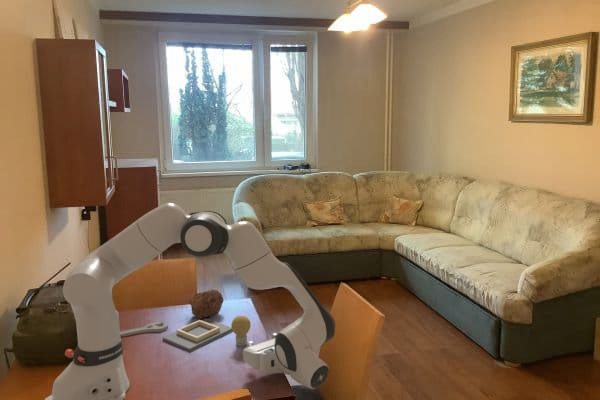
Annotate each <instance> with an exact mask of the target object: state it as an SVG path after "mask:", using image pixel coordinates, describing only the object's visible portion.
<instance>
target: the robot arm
mask: <svg viewBox="0 0 600 400" xmlns="http://www.w3.org/2000/svg"><path fill="white" fill-rule="evenodd" d="M178 242H180V243H181V246H182V247H183V249H184V251H185V252H187V253H188V254H190V255H192V256H194V257H198V258H199V257H200V258H202V257H210V256H213V255H221V254H223V253H224V254H225V255H226V256H227V258H228V259H229V260H230V263H231V265H232V266H233V268H234V270H235V272H236V274H237V276H238V277H239V279H240V281H241V282H242V283H243V284H244V285H245V286H246V287H247V288H250V289H252V290H257V291H258V290H259V291H260V290H261V291H262V290H269V289H275V288H279V287H280V288H281V287H282V288H284V289H286V290H288V291H289V292H290V293H291V295H292V296H293V297H294V299H295V300H296V301H297V302H298V304H299V305H300V307H301V308H302V310H303V315H302V316H300V317H299V318H298V319H296V320H295V321H293V322H292V323H290V324H288V325H287V326H286V327H284V328H283V329H282V330H279V332H278V333H277V332H274V333H271V339H269V340H268V339H267V340H266V341H263V342H258V343H256V344H254V342H253V341H252V340H250V341H247V344H246V347H245V348H243V350H242V360H243V362H244V363H246V364H247V365H248V366H250V367H252V368H253V369H256V370H259V371H260V374H261V375H270V374H285V375H286V376H287V375H288V376H290V378H292V379H293V380H294V381H296V382H297V383H298V384H300V385H302V386H304V387H306V388H308V389H312V390H313V389H318V388H320V387H321V386H323V384H324V383H325V382H326V381H327V379H328V378H329V375H330V367H329V365H328V364H327V363H326V362H325V361H324V360H323V359H321V358H320V357H318V356H317V355H315V354H314V351H315V350H317V349H318V348H319V347H321V345H324V344H325V343H327V342H328V341H330V340H332V339H333V338H334V336H335V332H336V320H335V319H334V317H333V315H332V314H331V312H329V311H328V310H327V309H326V308H325V306H323V304H321V302H320V301H319V299H318V298H317V297H316V296H315V293H314V292H313V291H312V290H311V288H309V286H308V284H307V283H306V282H305V280H304V279H303V278H302V276H301V275H300V274H299V272H298V271H297V270H296V269H295V268H294V267H293V266H292V265H291V264H289V263H288V262H286V261H285V262H283V261H281V260H279V259H278V258H277V257H276V256H275V255H274V253H273V252H272V250H271V248H270V247H269V245H268V243H267V241H266V240H265V238H264V237H263V234H262V233H261V232H260V231H259V230H258V228H257V227H256V226H255V225H254V223H252V222H250V221H247V220H240V221H237V222H234V223H232V224H228V223H227V220H226V219H225V217H224V216H222V215H221V214H220V213H218V212H216V211H213V210H204V211H195V212H191V213H189V214H188V213H187V212H186V211H185V210H184V208H182V207H181V206H180V205H178V204H176V203H173V202H166V203H164V204H162V205H161V204H160V205H159V206H157V207H156V208H154V209H152V210H150V211H149V212H146V213H145V214H143V215H142V216H141V217H140V218H138V219H137V220H135V221H134V222H132V223H131V224H130V225H128V226H127V227H125V228H124V229H123V230H122V231H120V232H119V233H118V234H115V236H114V237H112V238H110V239H109V240H107V241H106V242H105V243H103V244H102V245H100V246H99V247H98V248H96V249H94V250H93V251H92V252H90V253H89V254H87V256H85V257H84V258H83V259H82V260H80V262H79V263H77V265H75V267H73V268H72V269H71V270H70V271H68V274H67V275H66V277H65V280H64V283H63V286H62V293H63V297H64V299H65V301H66V302H67V303H68V304H70V306H71V310H72V313H73V316H74V319H75V323H76V335H77V346H76V348H75V351H74V350H73V349H71V348H68V349H66V350H65V352H64V355H65V357H67V358H69V359H72V361H71V362H70V363H69V365H68V366H67V367H66V368H65V369H64V370H63V371H62V372H61V373H60V374H59V375H58V376H57V378H55V380H54V382H53V384H52V389H51V390H52V392H51V394H50V395H49V396H47V397H45V398H44V400H125V399H126V393H127V391H128V390H129V388H130V385H131V383H130V380H129V378H128V376H127V372H126V368H125V365H124V364H125V363H124V359H123V358H124V357H123V353H124V347H123V346H124V345H123V339H122V337H120V331H121V330H120V329H121V328H120V317H119V316H120V315H119V312H118V311H117V309H116V306H115V304H114V300H113V294H112V293H113V292H112V291H113V288H114V286H115V285H117V283H118V282H120V281H121V280H123V279H124V278H126V277H127V276H129V275H130V274H131V273H133V272H136V271H137V270H140V269H141V268H143V267H145V265H147V264H148V263H149V262H150V261H152V260H153V259H154V258H156V257H157V256H159V255H160V254H162V253H163V252H165V251H166V250H167V249H169V248H170V247H171V246H172V245H174V244H176V243H178Z"/></svg>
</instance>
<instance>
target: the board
mask: <svg viewBox="0 0 600 400" xmlns="http://www.w3.org/2000/svg"><path fill="white" fill-rule="evenodd" d="M231 332H233V330H232V327H231V326H228V325H225V324H223V323H221V322H218V321H215V320H212V319H210V318H208V317H205V318H203V319H202V320H201V319H198V320H196V321H194V322H192V323H189V324H187V325H185V326H182V327H179V328H178V329H176V331H174V332H172V333H169V334H168V335H164V336H163V337H162V341H164V342H167V343H169V344H171V345H174V346H175V347H178V348H180V349H183V350H185V351H187V352H192V351H194V350H196V349H198V348H200V347H202V346H204V345H207V344H208V343H210V342H212V341H215V340H217V339H218V338H220V337H223V336H225V335H227V334H229V333H231Z"/></svg>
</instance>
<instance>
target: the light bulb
mask: <svg viewBox="0 0 600 400" xmlns="http://www.w3.org/2000/svg"><path fill="white" fill-rule="evenodd" d="M251 326H252V325H251V320H250V319H249V318H248V317H247V316H245V315H237V316H236V317H234V318H233V320H232V321H231V325H230V327H232V330H233V331H232V332H233V333H234V334H235V345H237V346H239V347H243V346H245V345H246V346H247V342H248V339H247V337H248V335H247V334H248V333H249V331H250V329H251Z"/></svg>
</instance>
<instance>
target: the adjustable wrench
mask: <svg viewBox="0 0 600 400" xmlns="http://www.w3.org/2000/svg"><path fill="white" fill-rule="evenodd" d="M168 329H169V325H168V324H165V325H164V322H163V321H156V322H150V323H149V324H148V325H145V326H141V327H136V328H132V329H124V330H120V337H121V338H122V337H128V336H133V335H137V334H142V333H144V334H145V333H160V332H161V333H162V332H164V331H167V330H168Z"/></svg>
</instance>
